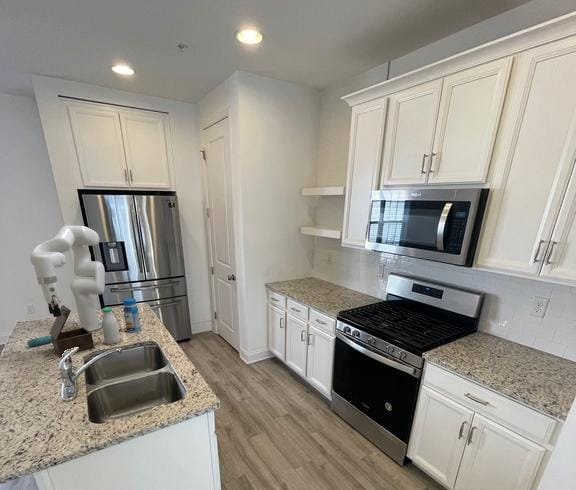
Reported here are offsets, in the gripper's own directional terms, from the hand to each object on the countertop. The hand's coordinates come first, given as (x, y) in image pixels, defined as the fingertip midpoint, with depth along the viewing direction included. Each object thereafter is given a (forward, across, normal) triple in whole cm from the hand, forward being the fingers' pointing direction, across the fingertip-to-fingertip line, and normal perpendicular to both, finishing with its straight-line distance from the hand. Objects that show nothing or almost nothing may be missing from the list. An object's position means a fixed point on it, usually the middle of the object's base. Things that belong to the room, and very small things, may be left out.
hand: (55, 314), depth 157 cm
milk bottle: (+21, -4, -23) cm, 31 cm away
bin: (+21, 0, -5) cm, 21 cm away
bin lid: (+5, 0, -1) cm, 5 cm away
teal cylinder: (+21, +19, +6) cm, 29 cm away
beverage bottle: (+21, +6, -39) cm, 44 cm away
